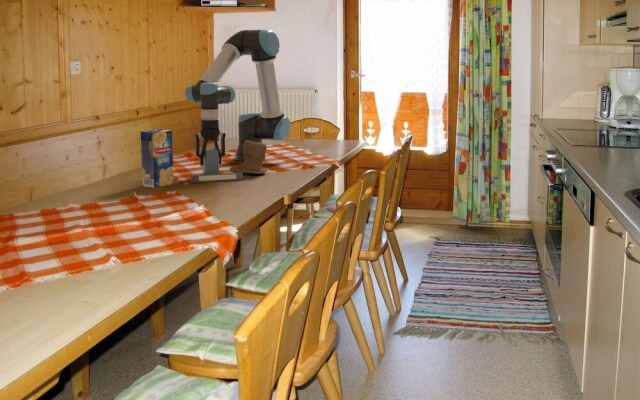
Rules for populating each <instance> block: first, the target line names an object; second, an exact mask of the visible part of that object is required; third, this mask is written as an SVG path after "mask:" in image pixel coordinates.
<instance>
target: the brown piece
mask: <svg viewBox="0 0 640 400" xmlns="http://www.w3.org/2000/svg"><path fill="white" fill-rule="evenodd" d="M266 152H267V144H266V142H263V141H262V142H255V141H249V140H246V141H245V142H244V144H243V156H244V161H243V163H242V164H239V165H238V164H236V165H232V166H231V167H230V168H229V171H230V172H231V173H238V172H242V173H243V175H262V174H265V173H267V170H266V169H265V168H264V167H263V165H262V164H263V161H264V160H263V159H264V157H265V155H266Z"/></svg>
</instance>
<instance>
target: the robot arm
mask: <svg viewBox="0 0 640 400" xmlns="http://www.w3.org/2000/svg"><path fill="white" fill-rule="evenodd" d="M280 46H281V45H280V39H279V37H278V36H277V34H276V33H275V32H274V31H273V30H270V29H242V30H239V31H237V32H235V33H234V34H232V35H231V36H230V37H229V38H228V39H227V40H226V41H225V42H224V43H223V44H222V45H221V49H220V52H219V54H217V56H216V57H215V59H214V60H213V61H212V62H211V64H210V65H209V66H208V67H207V69H206V70H205V72H203V74H202V75H201V77H200V78H199V79H198V81H197V82H196V83H195V84H192V85H188V86H187V87H186V88H185V91H184V95H185V96H184V97H185V98H186V100H187V102H189V103H196V104H197V103H199V104H200V118H201V120H200V132H198V133H194V135H193V137H194V139H195V157H196V158H199V162H200V163H199V166H201V167H202V169H201V170H202V174H203V173H206V166H205V158H204V154H205V150H206V148H207V144H208V142H210V141H211V142H212V143H213V146H214V148H215V149H217V150H218V160H219V166H220V165H222V157H225V156H226V136H227V134H226V133H225V132H222V131H220V125H219V124H220V122H219V121H220V120H219V116H220V115H219V105H220V104H221V105H223V104H224V105H225V104H227V105H228V104H231V103H233V101H235V99H236V91H235V89H234V87H232V86H228V85H224V86H222V85H221V86H219V84H218V83H219V82H220V81H221V80H222V79H223V77H224V75H225V74H226V73H227V71H228V70H229V69H230V68H231V66H232V65H233V64H234V62H236V61H238V60H239V59H240V58H241V57H242V56H250V57H251V61H252V62H253V63H254V64H255V68H256V70H255V71H256V76H257V77H256V78H257V82H258V89H259V96H260V102H261V108H262V109H261V110H262V111H261V112H252V113H251V112H250V113H243V114H240V115H239V116H238V122H237V124H238V145H237V148H236V152H235V155H234V159H235V160H236V161H240V160H241V162H244V156H243V144H244V142H245V141H246V140H249V141H255V142H262V143H263V140H267V141H284V140H285V139H287V137H288V136H289V133H290V130H291V120H290V118H289V117H287V116H285V113H284V110H282V108H281V106H280V105H281V104H280V98H279V91H278V84H277V78H276V70H275V69H276V68H275V63H274V61H275V60H276V58H277V55H278V54H279V52H280ZM201 137H202V138H203V141H202V145H201V143H200V139H201ZM218 137H220V147H219V144H218ZM200 145H201V146H200ZM200 149H201V150H200ZM266 158H267V157H266V154H265V157H264V159H263V161H265V160H266Z"/></svg>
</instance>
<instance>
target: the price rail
mask: <svg viewBox="0 0 640 400" xmlns="http://www.w3.org/2000/svg"><path fill="white" fill-rule="evenodd" d="M243 180H244V174H243V173H242V172H238V173H235V172H224V173H220V172H219V174H203V173H202V174H191V175H190V183H192V184H193V183H209V182H211V183H212V182H227V181H230V182H231V181H243Z"/></svg>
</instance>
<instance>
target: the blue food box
mask: <svg viewBox="0 0 640 400" xmlns="http://www.w3.org/2000/svg"><path fill="white" fill-rule="evenodd" d="M173 146H174V145H173V130H169V129H152V130H144V131H140V155H141V177H142V178H141V179H142V181H141V182H142V183H141V184H142V187H148V188H149V187H150V188H160V187H164V186H169V185H174V184H175V182H174V152H173V151H174V150H173V149H174V148H173Z"/></svg>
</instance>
